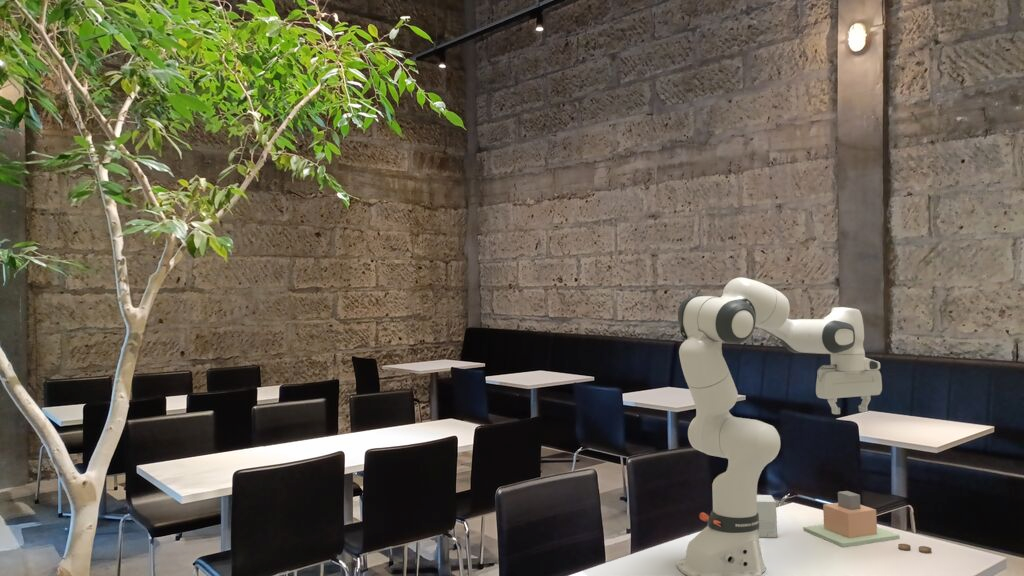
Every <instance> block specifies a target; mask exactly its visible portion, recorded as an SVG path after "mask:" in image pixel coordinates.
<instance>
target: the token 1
mask: <svg viewBox="0 0 1024 576" xmlns="http://www.w3.org/2000/svg"><path fill="white" fill-rule="evenodd" d="M897 545H898V546H897V548H898V550H899V551H904V552H909V551H912V548H911V547H912V546H911V545H910V544H907V543H898V544H897Z"/></svg>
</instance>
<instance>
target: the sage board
mask: <svg viewBox="0 0 1024 576" xmlns="http://www.w3.org/2000/svg"><path fill="white" fill-rule="evenodd" d="M803 531H804V532H806V533H808V534H810V535H813V536H815V537H818V538H820V539H822V540H825V541H827V542H830V543H833V544H835V545H837V546H839V547H841V548H847V547H853V546H860V545H865V544H874V543H879V542H885V541H891V540H892V541H894V540H899V539H900V537H901V536H900V534H898V533H895V532H892V531H888V530H887V529H883V528H881V527H878V526H877V534H874V535H868V536H861V537H854V538H847V537H845V536H842V535H840V534H837V533H835V532H832V531H830V530H827V529H825V528H824V523H823V524H816V525H811V526H804V527H803Z"/></svg>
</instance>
